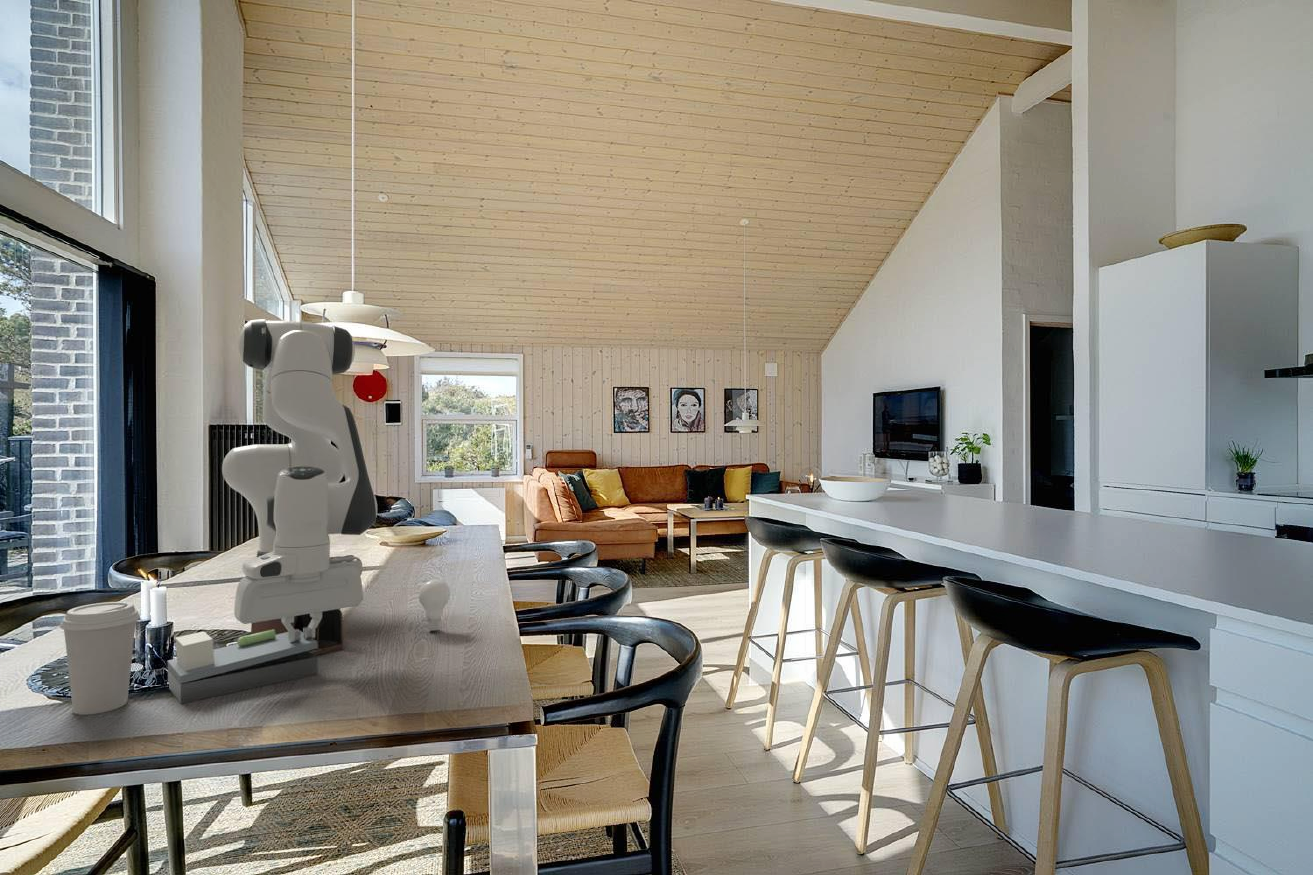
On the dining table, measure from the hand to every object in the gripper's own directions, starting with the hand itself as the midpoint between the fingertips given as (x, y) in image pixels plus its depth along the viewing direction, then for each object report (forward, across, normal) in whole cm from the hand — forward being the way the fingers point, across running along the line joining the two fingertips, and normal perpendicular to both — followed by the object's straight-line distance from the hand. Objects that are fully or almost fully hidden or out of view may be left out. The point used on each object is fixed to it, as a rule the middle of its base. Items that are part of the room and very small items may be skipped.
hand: (301, 639), depth 123 cm
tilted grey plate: (+2, +8, -2) cm, 9 cm away
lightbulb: (+6, -29, -8) cm, 30 cm away
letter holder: (+6, -5, -18) cm, 20 cm away
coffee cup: (+6, +27, -4) cm, 28 cm away
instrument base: (+6, +8, -2) cm, 10 cm away
